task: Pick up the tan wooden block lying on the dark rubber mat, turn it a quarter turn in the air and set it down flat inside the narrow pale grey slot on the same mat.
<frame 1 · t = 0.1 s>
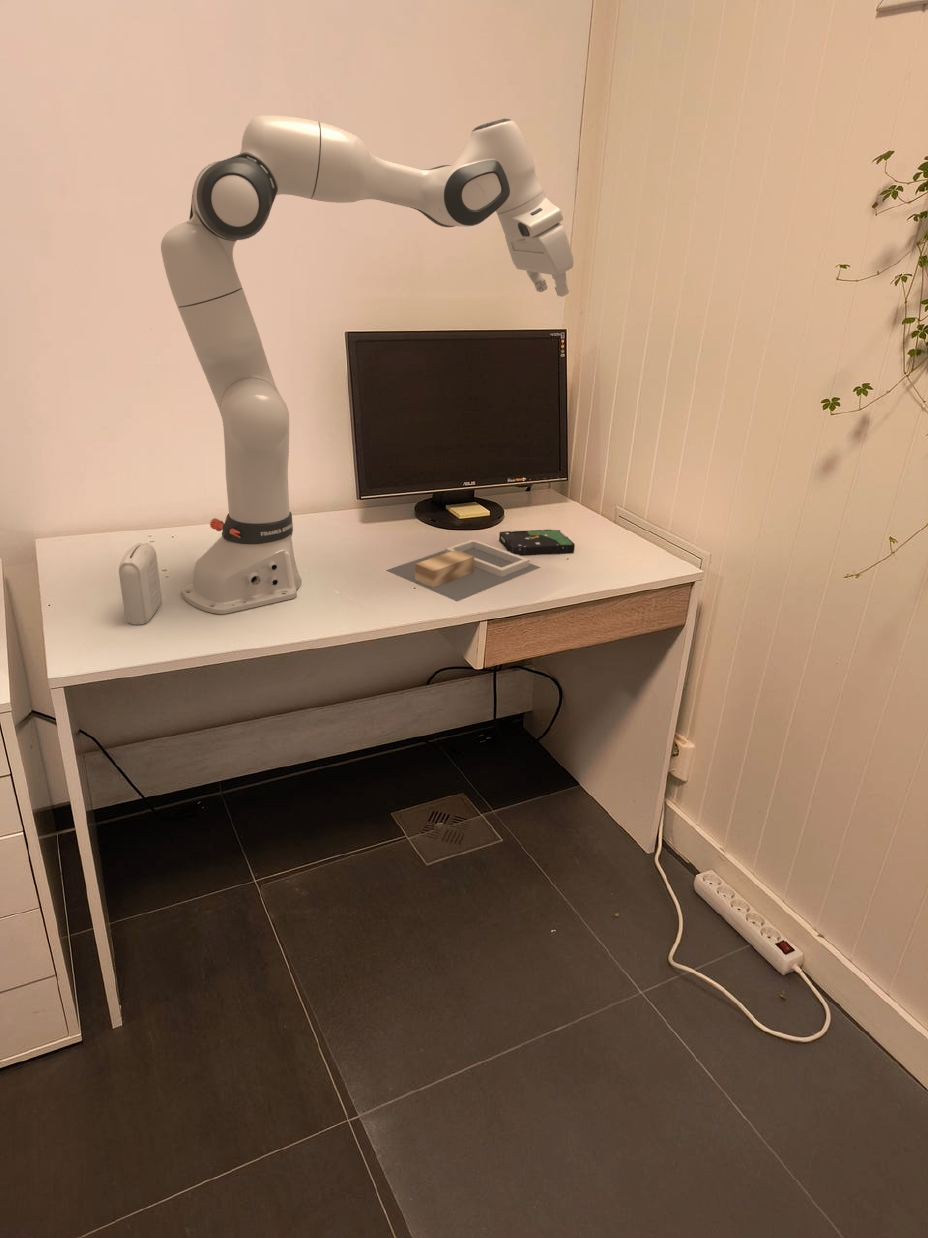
hand: (552, 292, 150), 54 cm above the table, tool tilted 30°, fingers open, 8 cm apart
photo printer: (144, 613, 143), on the table
mat: (464, 570, 168), on the table
tan wooden block: (444, 576, 164), resting on mat
disk drive: (535, 549, 183), on the table
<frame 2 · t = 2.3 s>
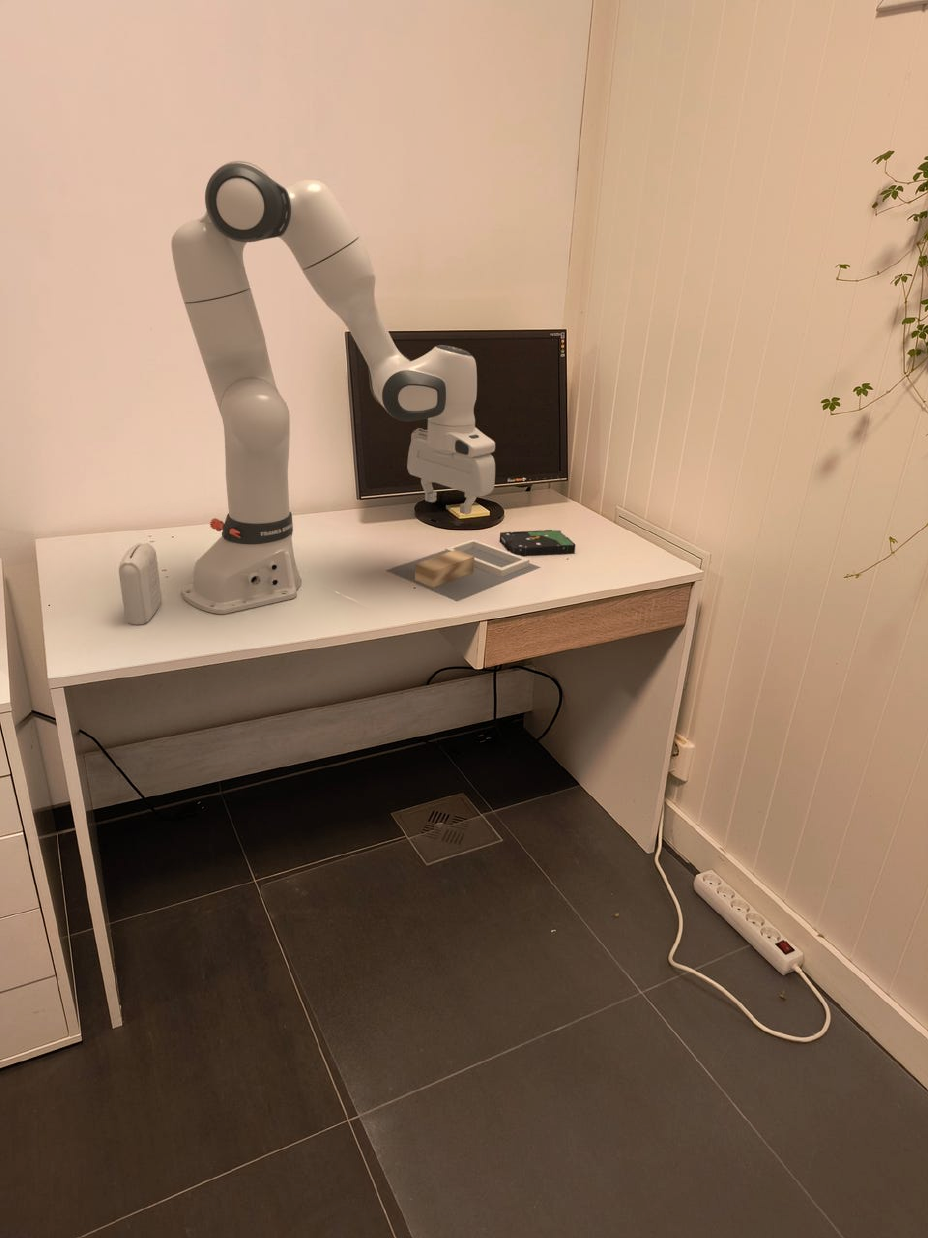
hand: (447, 507, 157), 15 cm above the table, tool pointing down, fingers open, 8 cm apart
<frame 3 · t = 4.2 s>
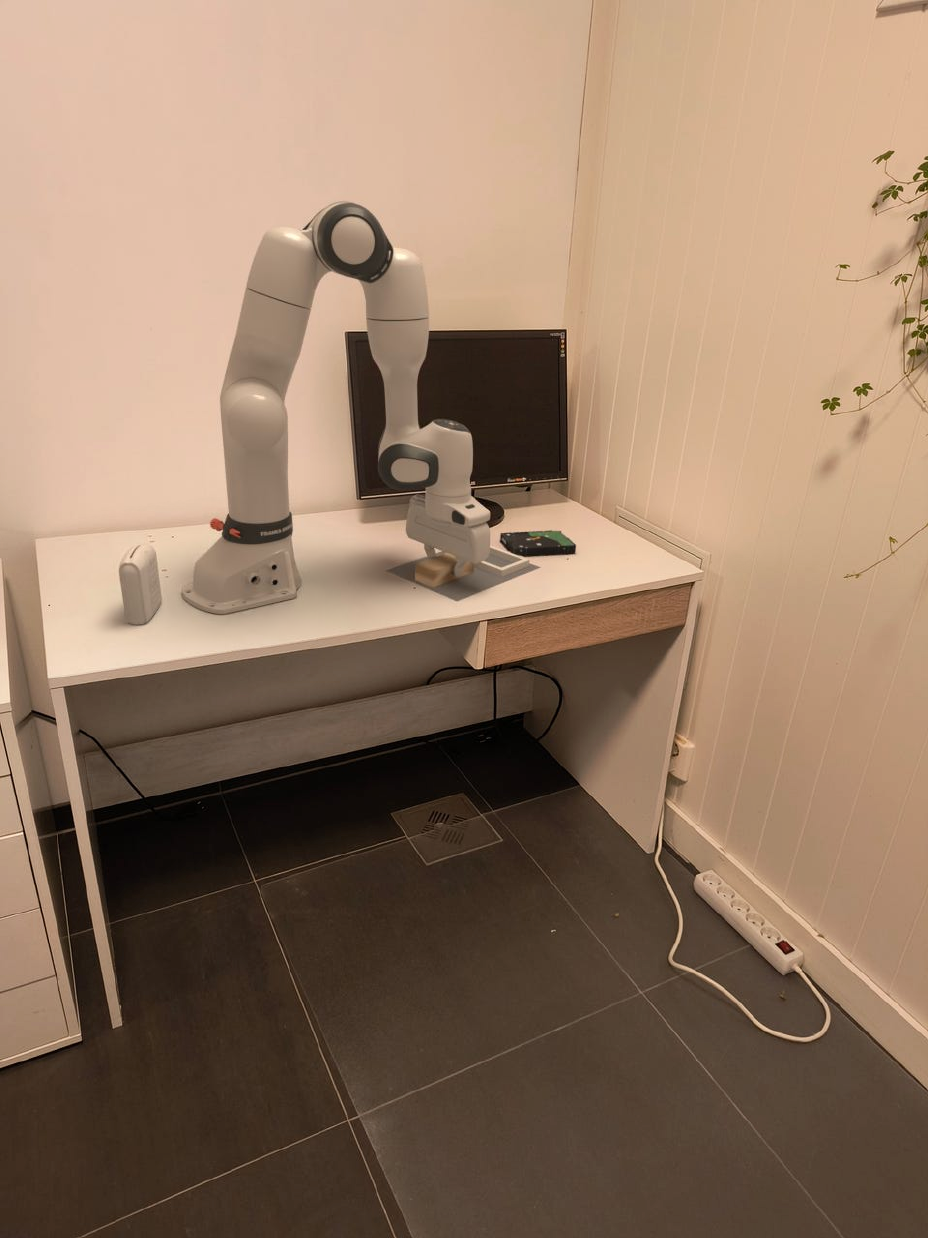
hand: (444, 570, 163), 2 cm above the table, tool pointing down, fingers closed on tan wooden block, 5 cm apart
tan wooden block: (444, 576, 164), resting on mat, touching gripper
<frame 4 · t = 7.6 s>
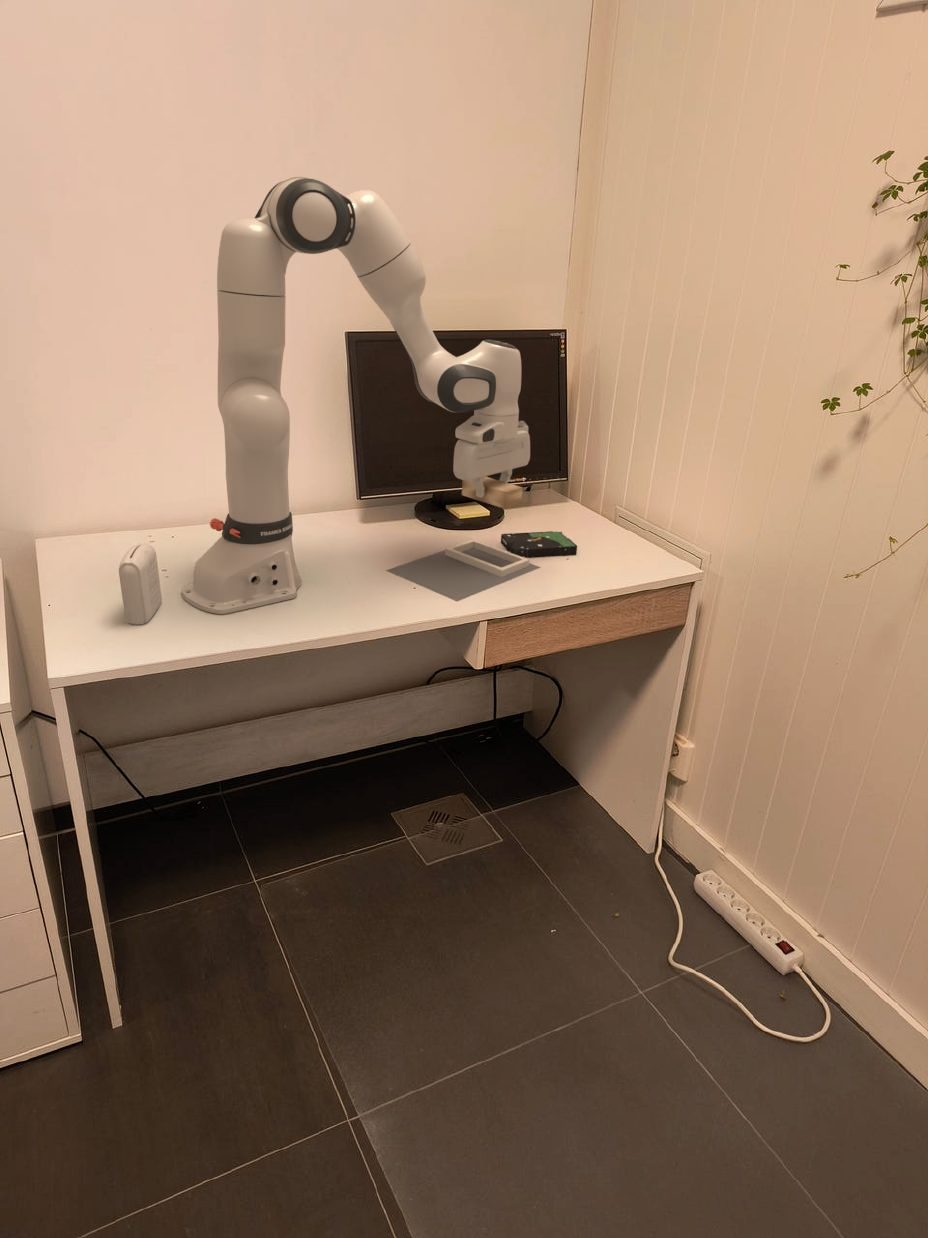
hand: (491, 493, 166), 15 cm above the table, tool pointing down, fingers closed on tan wooden block, 5 cm apart
tan wooden block: (491, 499, 166), point 14 cm above the table, touching gripper
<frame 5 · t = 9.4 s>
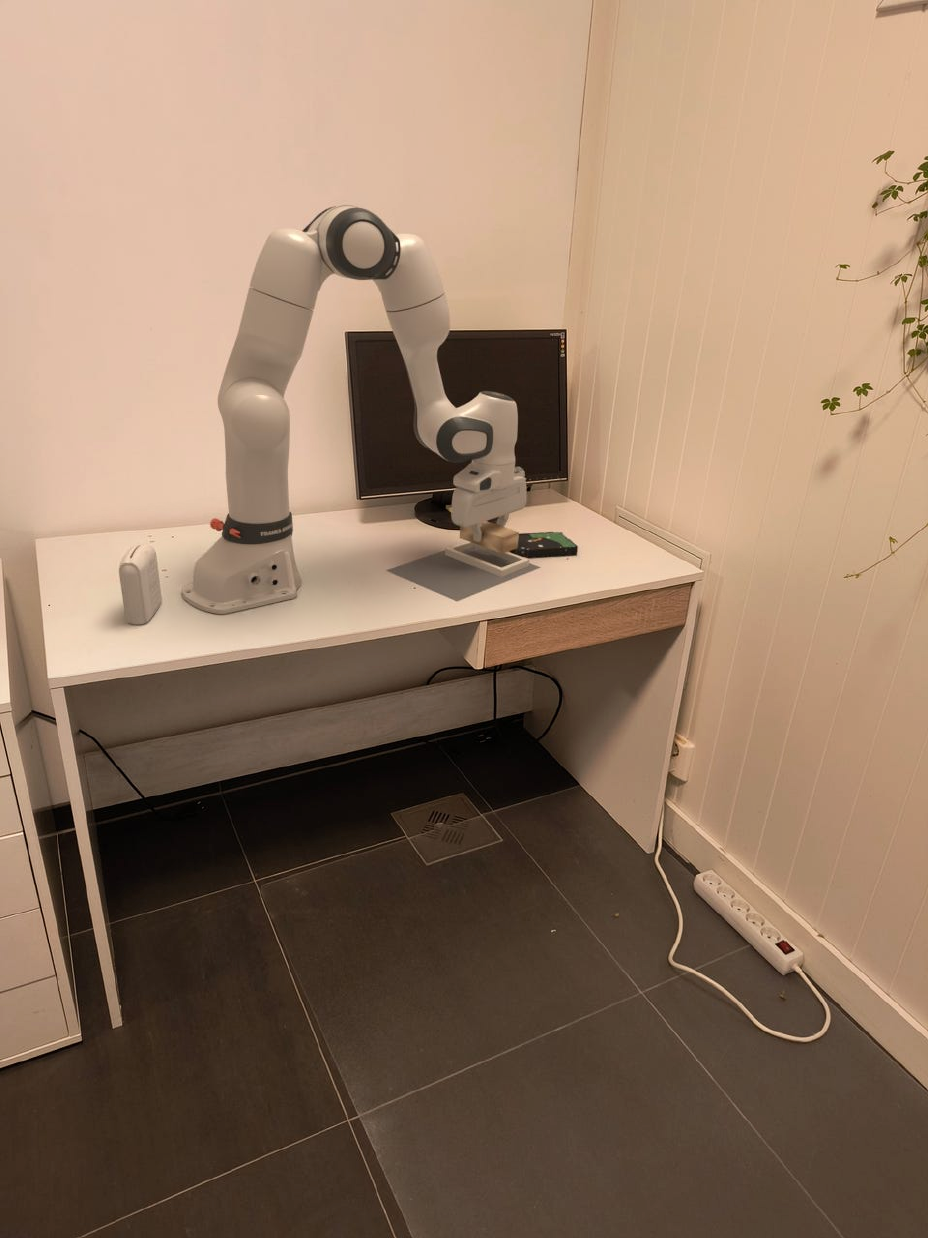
hand: (488, 537, 170), 6 cm above the table, tool pointing down, fingers closed on tan wooden block, 5 cm apart
tan wooden block: (488, 542, 171), point 4 cm above the table, touching gripper
when the fingers open (3 cm above the table, at t = 10.8 s): tan wooden block stays where it is, resting on mat.
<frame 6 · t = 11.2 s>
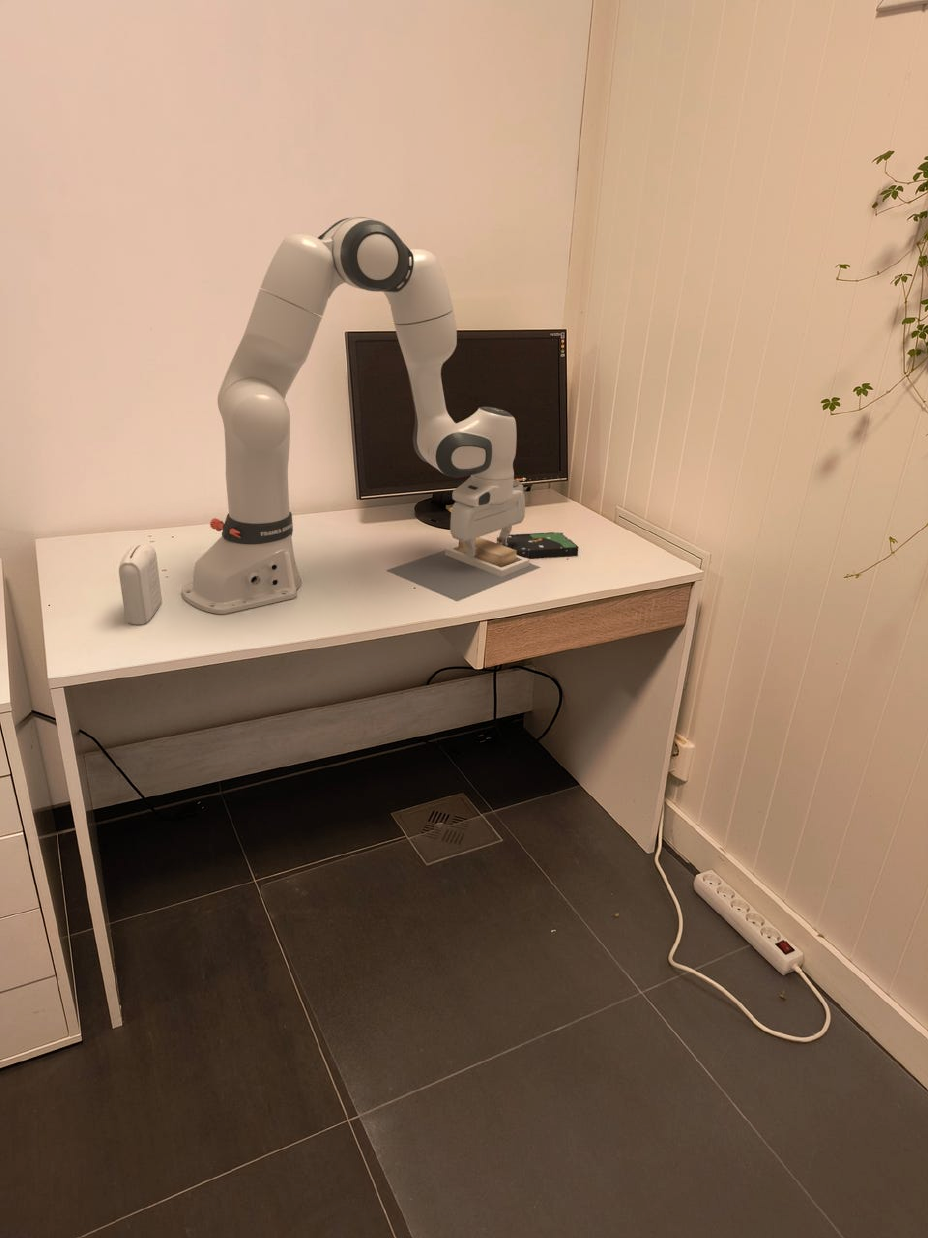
hand: (487, 550, 171), 3 cm above the table, tool pointing down, fingers open, 8 cm apart
tan wooden block: (486, 560, 172), resting on mat
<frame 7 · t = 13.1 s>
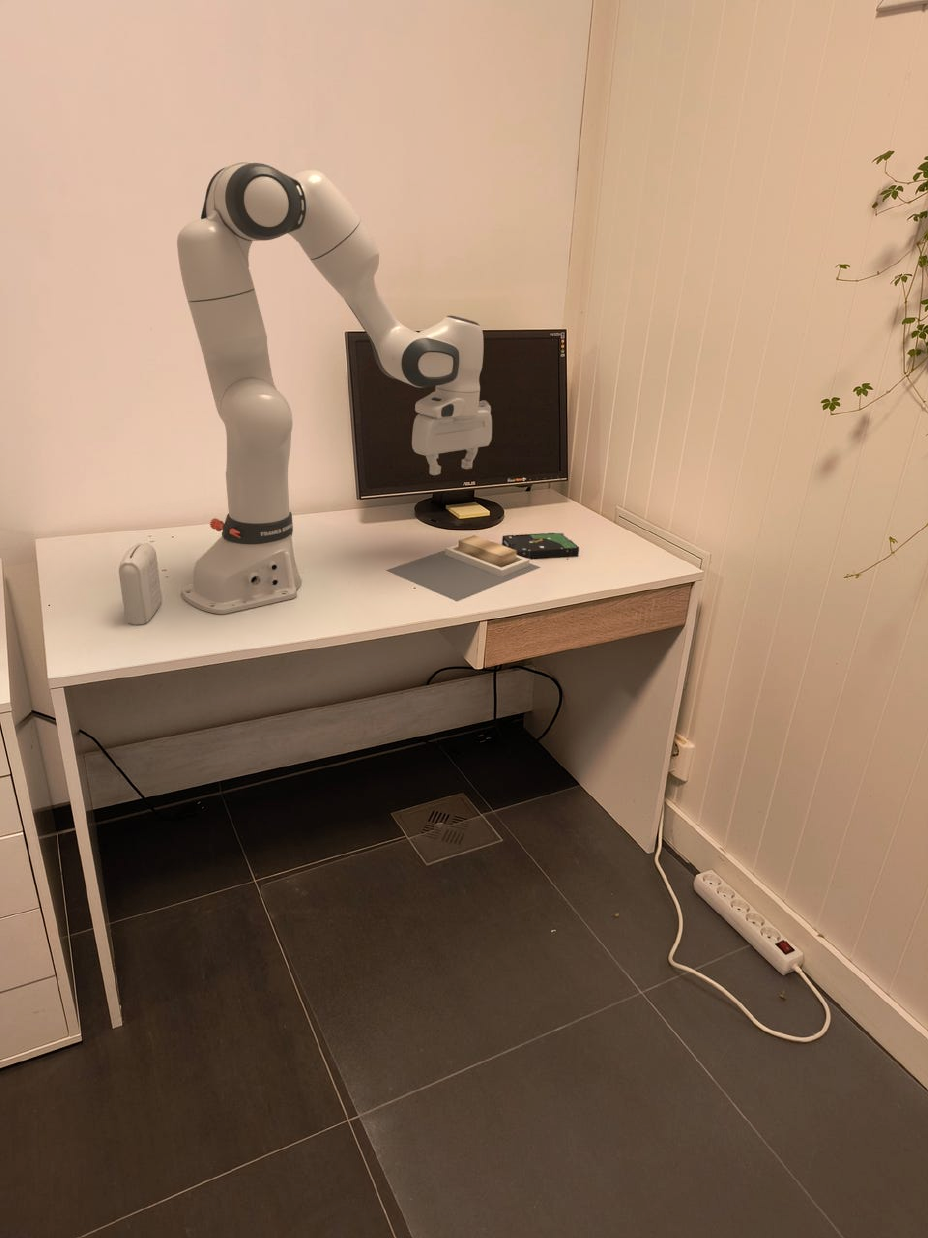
hand: (451, 471, 166), 19 cm above the table, tool pointing down, fingers open, 8 cm apart
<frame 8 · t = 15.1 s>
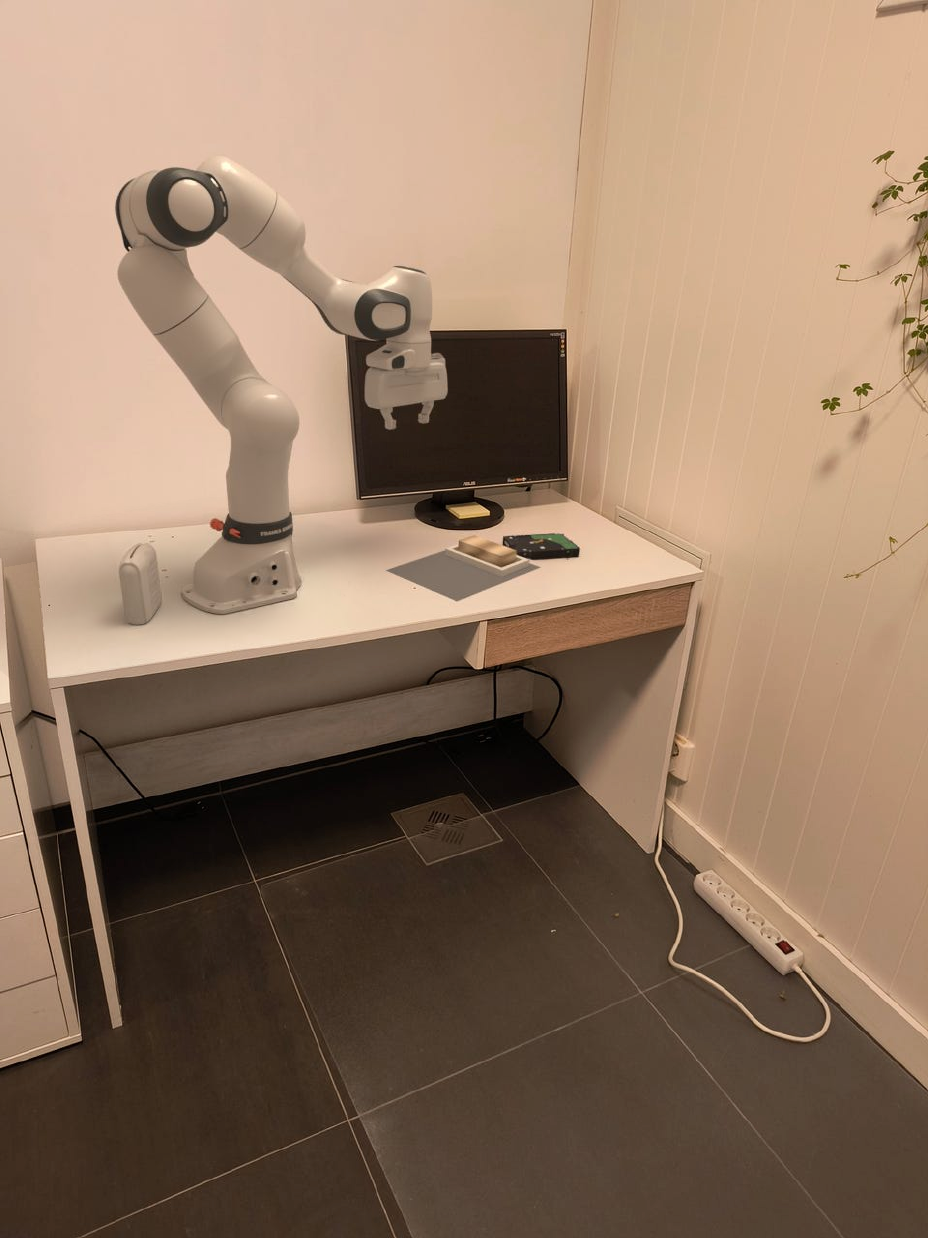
hand: (407, 425, 165), 27 cm above the table, tool pointing down, fingers open, 8 cm apart
at the end: tan wooden block 0.1 cm from the target spot on the mat, point 0.4 cm above the mat's base; tan wooden block tilted 0°; the gripper is holding nothing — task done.
